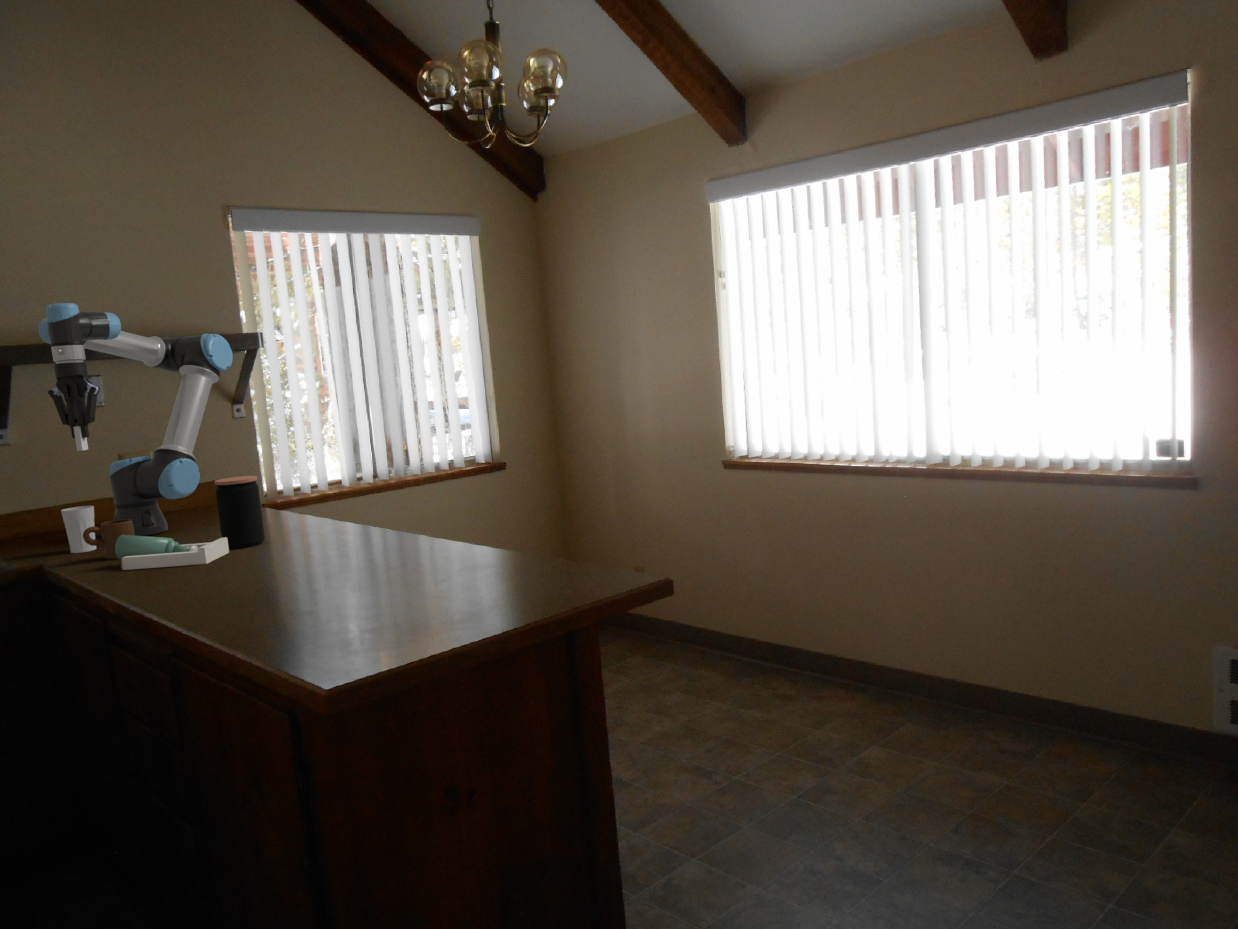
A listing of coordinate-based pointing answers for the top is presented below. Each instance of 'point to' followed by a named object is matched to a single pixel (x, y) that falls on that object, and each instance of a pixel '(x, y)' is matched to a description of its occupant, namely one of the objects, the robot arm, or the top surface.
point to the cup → (78, 527)
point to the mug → (109, 535)
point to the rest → (179, 556)
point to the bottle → (148, 546)
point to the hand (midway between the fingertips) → (82, 450)
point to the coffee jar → (240, 511)
